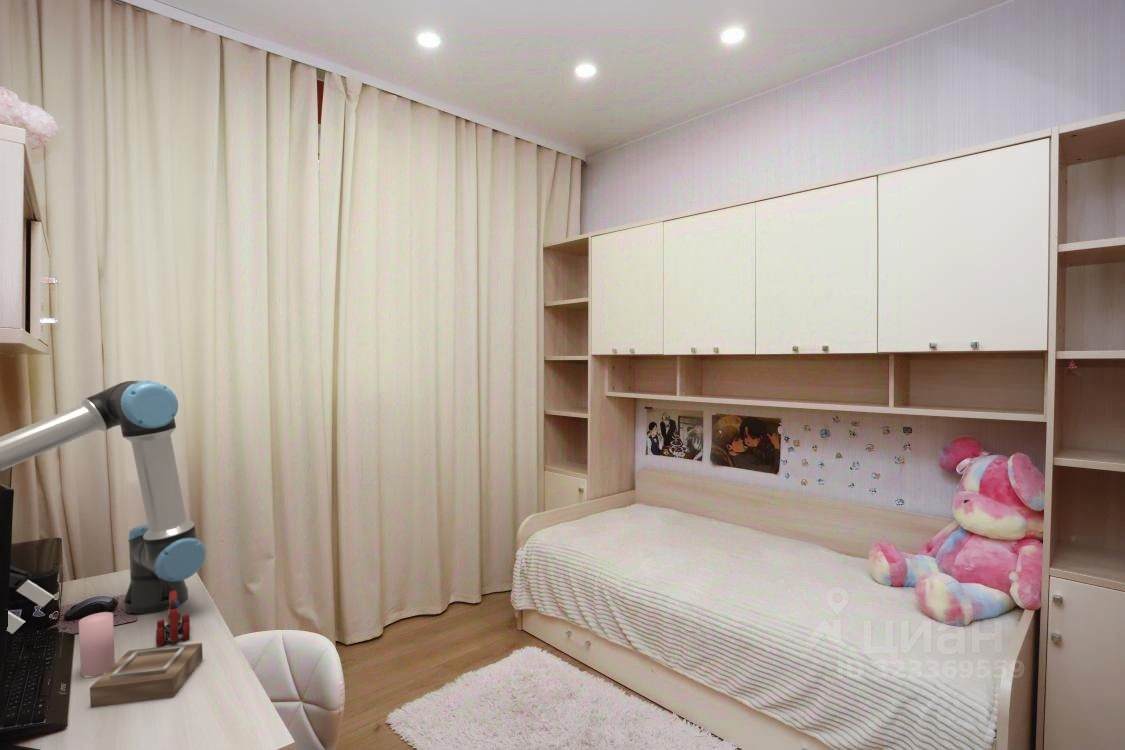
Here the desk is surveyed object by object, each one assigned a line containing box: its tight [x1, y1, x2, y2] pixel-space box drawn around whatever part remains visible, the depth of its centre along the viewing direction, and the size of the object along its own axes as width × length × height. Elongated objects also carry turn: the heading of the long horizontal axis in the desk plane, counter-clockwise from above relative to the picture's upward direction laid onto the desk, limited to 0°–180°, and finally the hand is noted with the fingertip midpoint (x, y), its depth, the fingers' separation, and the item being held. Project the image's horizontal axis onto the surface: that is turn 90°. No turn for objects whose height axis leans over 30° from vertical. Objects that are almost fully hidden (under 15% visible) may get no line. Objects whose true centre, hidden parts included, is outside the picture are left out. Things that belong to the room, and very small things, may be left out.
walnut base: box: [89, 642, 204, 708], centre depth 125 cm, size 15×15×5 cm
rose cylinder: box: [78, 611, 116, 677], centre depth 130 cm, size 6×6×12 cm
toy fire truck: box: [155, 590, 191, 647], centre depth 144 cm, size 7×12×10 cm, turn 34°
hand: (34, 614), depth 125 cm, fingers open, 13 cm apart
